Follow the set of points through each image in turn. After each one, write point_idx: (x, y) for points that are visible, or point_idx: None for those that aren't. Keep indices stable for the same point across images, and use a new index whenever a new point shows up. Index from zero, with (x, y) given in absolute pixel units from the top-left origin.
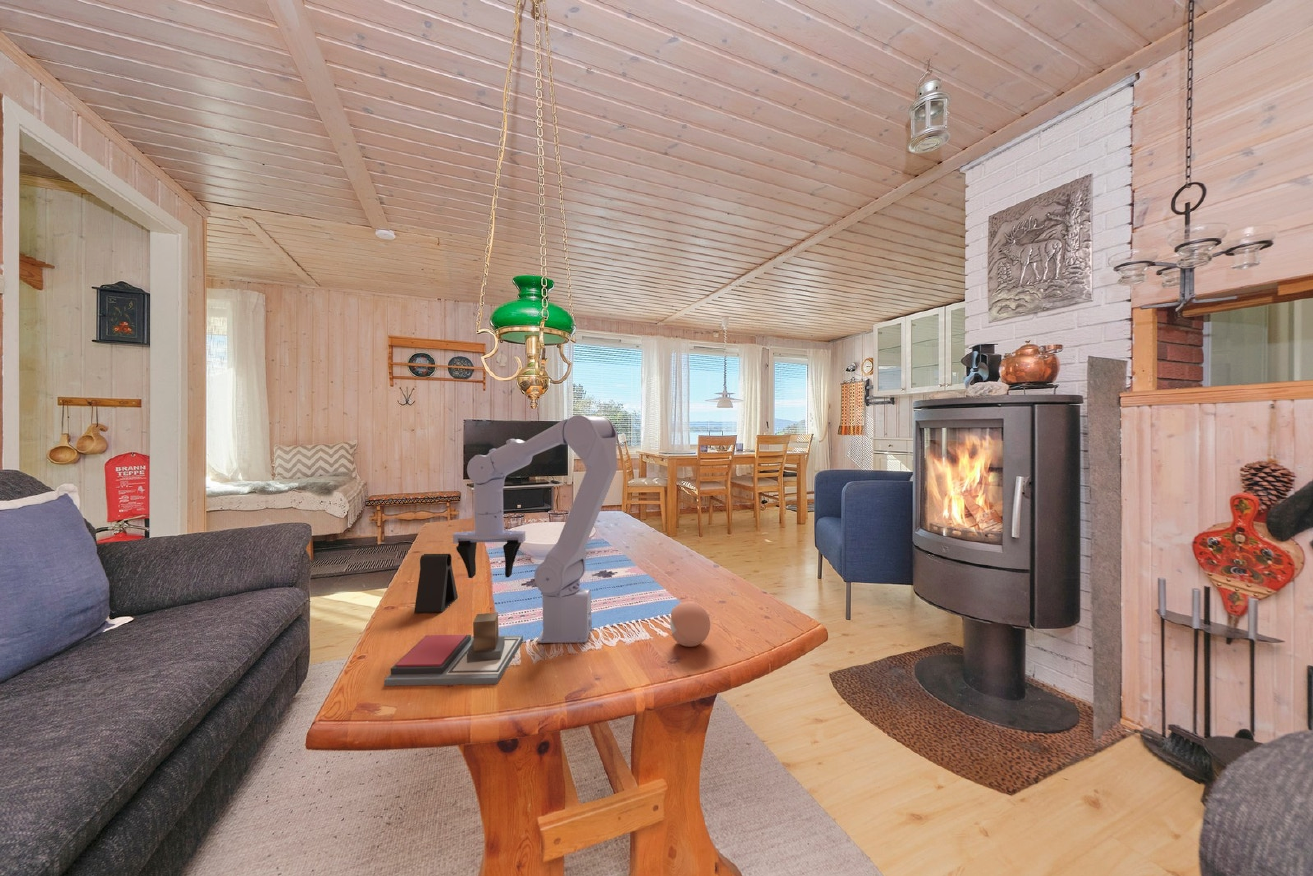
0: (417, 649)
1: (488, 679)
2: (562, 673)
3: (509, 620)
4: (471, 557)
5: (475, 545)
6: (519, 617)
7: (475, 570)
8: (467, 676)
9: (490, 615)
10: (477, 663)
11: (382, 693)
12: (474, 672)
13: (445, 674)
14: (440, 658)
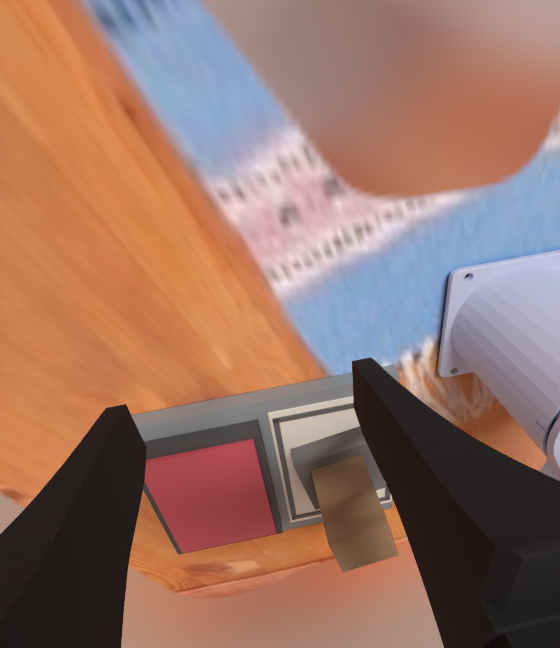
0: (176, 513)
1: None
2: (502, 452)
3: (295, 241)
4: (104, 575)
5: (18, 634)
6: (325, 207)
7: (118, 425)
8: None
9: (374, 541)
10: None
11: None
12: None
13: (288, 520)
14: (260, 522)
